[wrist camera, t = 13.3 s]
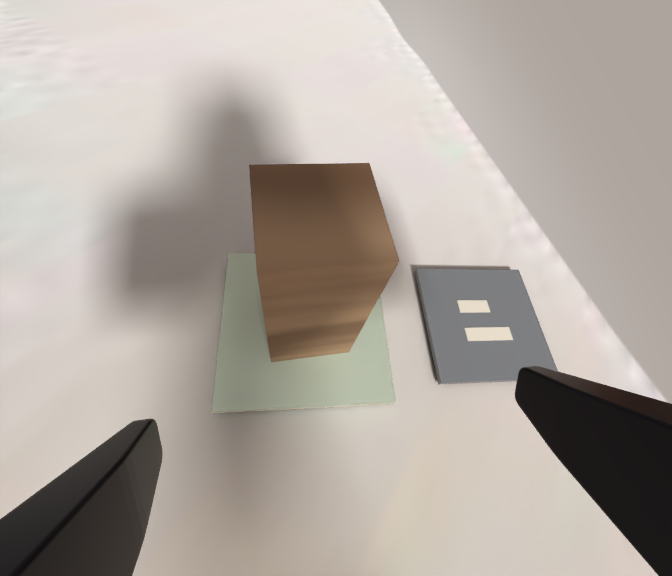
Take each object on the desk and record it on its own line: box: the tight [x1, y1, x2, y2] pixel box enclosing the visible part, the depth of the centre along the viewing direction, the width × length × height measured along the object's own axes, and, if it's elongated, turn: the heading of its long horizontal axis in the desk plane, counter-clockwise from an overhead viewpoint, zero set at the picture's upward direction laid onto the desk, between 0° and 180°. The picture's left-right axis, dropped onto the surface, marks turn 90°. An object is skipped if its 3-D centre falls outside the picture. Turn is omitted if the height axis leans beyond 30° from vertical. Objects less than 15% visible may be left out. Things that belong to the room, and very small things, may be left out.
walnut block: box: [249, 163, 399, 362], centre depth 16 cm, size 5×5×10 cm
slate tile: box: [415, 269, 558, 384], centre depth 22 cm, size 8×8×1 cm
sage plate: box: [211, 253, 396, 413], centre depth 20 cm, size 10×10×1 cm
